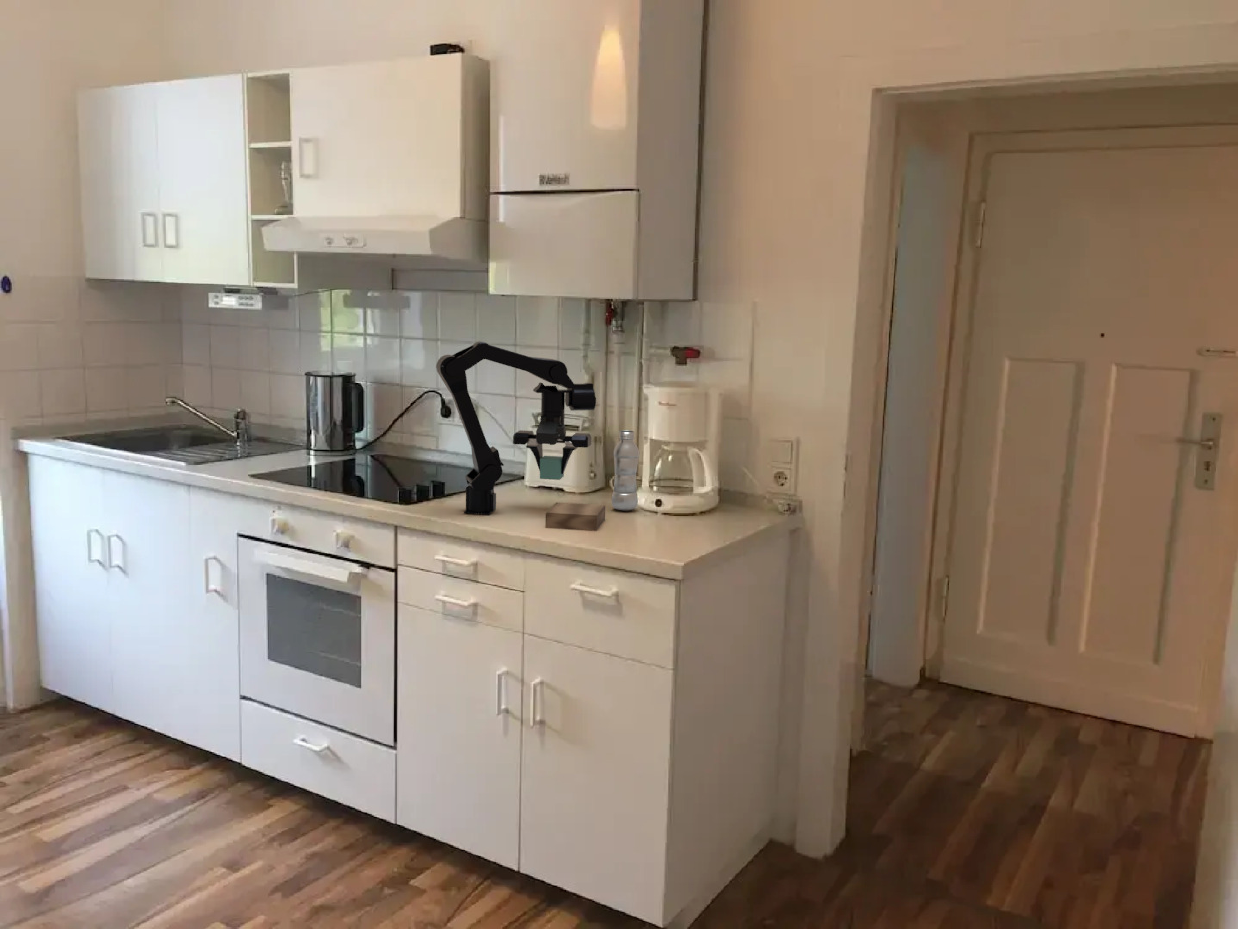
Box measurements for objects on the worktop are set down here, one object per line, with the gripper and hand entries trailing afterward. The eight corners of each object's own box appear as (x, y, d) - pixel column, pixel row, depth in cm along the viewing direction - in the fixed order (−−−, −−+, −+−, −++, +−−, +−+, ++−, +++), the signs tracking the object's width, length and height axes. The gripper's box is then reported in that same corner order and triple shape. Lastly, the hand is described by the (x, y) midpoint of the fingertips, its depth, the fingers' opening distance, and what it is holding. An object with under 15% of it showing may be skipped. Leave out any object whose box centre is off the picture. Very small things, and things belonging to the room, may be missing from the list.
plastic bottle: (622, 506, 267) (624, 428, 264) (643, 510, 263) (645, 431, 260) (605, 510, 262) (607, 431, 259) (626, 514, 258) (629, 434, 255)
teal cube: (539, 478, 258) (540, 458, 257) (544, 475, 263) (544, 455, 262) (559, 479, 257) (560, 459, 256) (563, 476, 262) (564, 456, 261)
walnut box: (545, 529, 241) (545, 512, 241) (555, 518, 253) (556, 502, 252) (596, 532, 240) (597, 515, 239) (604, 521, 251) (605, 505, 251)
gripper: (507, 412, 251) (507, 477, 253) (584, 416, 248) (583, 481, 251) (518, 407, 261) (518, 469, 264) (592, 411, 259) (591, 473, 261)
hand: (551, 473), depth 260 cm, fingers closed on teal cube, 5 cm apart
